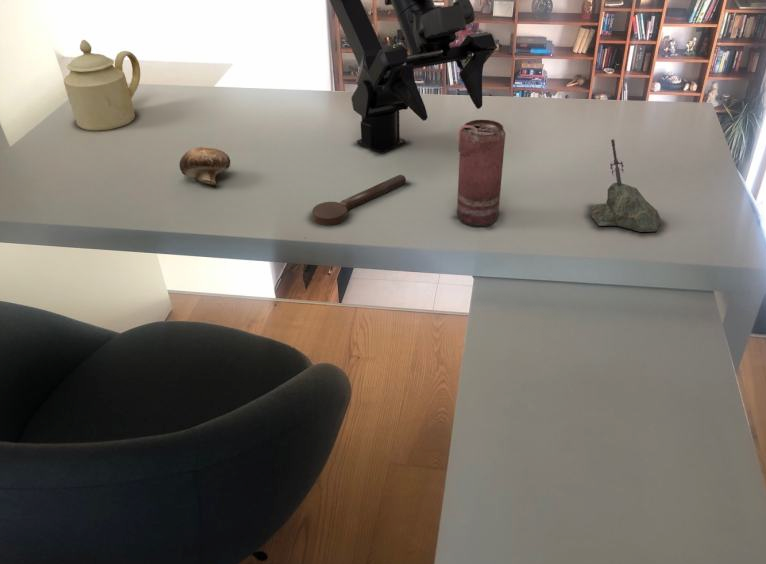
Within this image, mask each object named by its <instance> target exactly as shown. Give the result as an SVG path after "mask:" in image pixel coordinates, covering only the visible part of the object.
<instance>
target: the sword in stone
mask: <svg viewBox="0 0 766 564" xmlns="http://www.w3.org/2000/svg"><path fill="white" fill-rule="evenodd" d="M610 142H611V147H612V155H613V162H612V161H611V162H610V165H609V166H610V170H611V174H612V176H613V177H614V172H615V177H616V182H613V183H612V184H611V185H610V186H609V187H608V188H607V197H606V198H607V199H606V203H600V204H596V205H594V206H592V208H591V211H590V217H591V218H592V219H593V221H594V222H595V223H596V224H597V225H598V226H599V227H605V226H617V227H620V228H625V229H627V230H631V231H632V230H633V231H636V232H640V233H644V232H645V233H646V232H647V233H648V232H657V231H658V229H659V227H660V226H661V223H662V220H661V217H660V215H659V211H658V210H657V209H656V208H655V207H654V206H653V205H652V204H651V203H649V202H648V200H646V199H645V197H644V196H643V195H642V192H640V191H639V189H638V188H637V187H634V186H631V185H628V184H625V183H622V178H621V171H622V172H624V169H623V168H624V164H623V163H624V162H623V161H622V160H621V159H620V161H619V159H618V158H617V151H616V143H615V142H616V141H615V139H614V138H612V139H611V140H610ZM614 165H615V169H613V166H614ZM619 165H620V166H621V170H620V167H619Z"/></svg>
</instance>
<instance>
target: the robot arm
mask: <svg viewBox="0 0 766 564" xmlns="http://www.w3.org/2000/svg"><path fill="white" fill-rule="evenodd" d="M329 3H330V5H331V7H332V9H333V11H334V13H335V16H336V18H337V20H338V23H339V25H340V27H341V29H342V31H343V34H344V35H345V38H346V40H347V42H348V44H349V47H350V49H351V51H352V53H353V55H354V58H355V60H356V62H357V64H358V67H359V68H358V74H357V79H356V85H357V87H356V89H355V91H354V92H353V94H352V95H351V98H350V99H351V105H352V109H353V111H354V112H355V113H357V114H358V115H359V116H361V121H360V138H359V139H358V140H356V144H357V145H360V146H362V147H364V148H366V149H369V150H371V151H374V152H375V153H379V154H383V153H387V152H388V151H390V150H393V149H395V148H398V147H399V146H403V145H405V144H406V143H407V140H406V139H404V138H402V137H401V134H400V111H403V110H404V111H406V110H408V109H410V110H411V111H412V112H413V113H414V114H415V115H416V116H417V117H418V118H419V119H420V120H422V121H423V122H424V121H426V120H427V119H428V113H427V109H426V105H425V103H424V100H423V98H422V96H421V93H420V90H419V87H418V86H417V83H416V80H415V71H414V70H415V69H416V70H417V69H422V68H426V67H432V66H433V67H434V66H438V65H444V64H448V63H449V64H450V63H454V62H455V63H456V66H457V68H459V69H460V72H458V76H459V77H460V79H461V82H462V84H463V85H464V88H465V89H466V91H467V94H468V95H469V97H470V99H471V102H472V103H473V105H474V106H475V108H476V109H477V110H480V109H481V108H483V73H484V67H485V63H487V61H488V60H489V59H490V57H491V56H492V54H493V53H494V52H495V51H496V50H497V48H498V44H497V42H496V40H495V36H494V35H493V34H492V33H490V32H488V31H483V32H478V33H477V32H476V33H473V34H467V35H466V37H465V38H464V39H463V41H462V42H461V44H459V45H458V46H452V47H451V45H450V44H451V43H454V42H455V40H457V35H456V34H457V33H458V32H461V31H462V32H464V31H466V30H467V26H468V25H470V24H472V23H474V21H475V19H476V15H475V10H474V7H473V5H472V3H471V0H457V1H454V2H453V3H452V5H448V6H443V7H442V6H436V5H435V2H434V0H384V5H385V6H392V8H393V11H394V14H395V17H396V19H397V22H398V25H399V28H400V30H399V32H398V38H399V41H400V42H401V41H405V44H406V47H407V48H405V47H404V46H396V47H395V46H394V47H389V48H385V49H384V48H383V45H382V43H381V41H380V38H379V36H378V34H377V32H376V30H375V28H374V26H373V24H372V21H371V19H370V16H369V15H368V13H367V11H366V8H365V6H364V4H363V2H362V0H329ZM407 49H408V51H407ZM408 52H409V54H408Z"/></svg>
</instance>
